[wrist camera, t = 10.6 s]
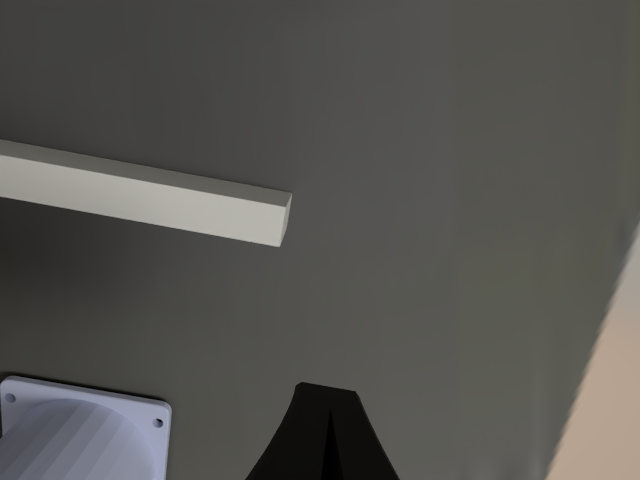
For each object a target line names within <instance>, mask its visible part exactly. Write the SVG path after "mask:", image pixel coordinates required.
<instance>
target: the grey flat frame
mask: <svg viewBox="0 0 640 480" xmlns="http://www.w3.org/2000/svg"><path fill="white" fill-rule="evenodd" d="M0 196H1V197H6V198H12V199H17V200H23V201H29V202H34V203H40V204H45V205H51V206H56V207H62V208H67V209H73V210H78V211H84V212H89V213H95V214H100V215H106V216H111V217H117V218H123V219H128V220H134V221H139V222H145V223H150V224H156V225H161V226H167V227H172V228H178V229H183V230H189V231H194V232H200V233H205V234H211V235H217V236H222V237H228V238H233V239H239V240H244V241H250V242H255V243H261V244H266V245H272V246H277V247H280V244H281V241H282V239H283V236H284V233H285V231H286V228H287V223H288V217H289V210H290V204H291V198H292V193H290V192H285V191H279V190H274V189H268V188H263V187H257V186H252V185H247V184H241V183H236V182H230V181H225V180H219V179H214V178H208V177H203V176H198V175H192V174H187V173H181V172H176V171H170V170H165V169H160V168H154V167H149V166H143V165H138V164H132V163H127V162H122V161H116V160H111V159H105V158H100V157H94V156H89V155H83V154H78V153H73V152H67V151H62V150H56V149H51V148H45V147H40V146H35V145H29V144H24V143H18V142H13V141H7V140H2V139H0Z"/></svg>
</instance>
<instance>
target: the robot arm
mask: <svg viewBox="0 0 640 480" xmlns="http://www.w3.org/2000/svg"><path fill="white" fill-rule="evenodd" d="M12 394H13V395H14V396H15V397H14V396H13V395H12ZM0 398H1V417H2V435H3V437H2V438H1V439H0V480H165V479H166V468H167V457H168V446H169V435H170V424H171V413H172V410H171V407H170V405H169V404H167V403H166V402H163V401H159V400H153V399H147V398H141V397H135V396H130V395H124V394H118V393H112V392H106V391H100V390H95V389H89V388H83V387H77V386H71V385H65V384H59V383H54V382H48V381H42V380H36V379H30V378H24V377H19V376H9V377H7V378H6V379H4V380H3V381H2V382H1V384H0ZM157 419H160V420H162V421H163V422H159V421H158V420H157ZM245 480H400V479H399V477H398V476H397V474H396V472H395V470H394V468H393V466H392V464H391V463H390V461H389V459H388V457H387V455H386V453H385V451H384V450H383V448H382V446H381V444H380V442H379V440H378V438H377V436H376V434H375V431H374V429H373V427H372V425H371V423H370V421H369V419H368V417H367V414H366V412H365V410H364V407H363V405H362V403H361V400H360V398H359V396H358V394H357V393H356V391H351V390H345V389H339V388H333V387H328V386H322V385H316V384H310V383H305V382H301V383H299V384H297V385H296V387H295V392H294V395H293V398H292V401H291V403H290V406H289V408H288V410H287V412H286V414H285V416H284V418H283V420H282V422H281V424H280V426H279V428H278V429H277V431H276V433H275V435H274V436H273V438H272V440H271V442H270V443H269V445H268V447H267V448H266V450H265V451H264V453H263V454H262V456H261V457H260V459H259V460H258V462H257V463H256V465H255V466H254V468H253V469H252V471H251V472H250V474H249V475H248V477H247V478H246V479H245Z"/></svg>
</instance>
